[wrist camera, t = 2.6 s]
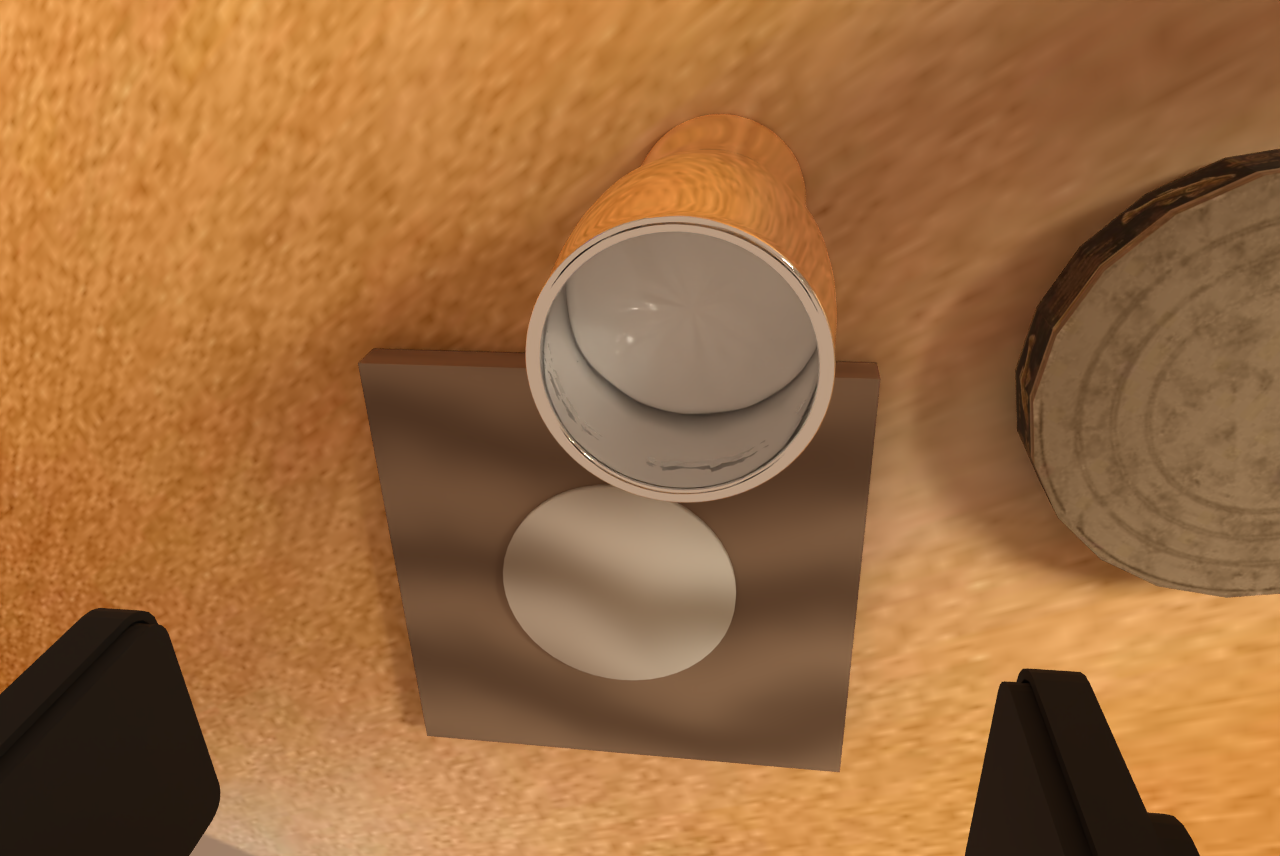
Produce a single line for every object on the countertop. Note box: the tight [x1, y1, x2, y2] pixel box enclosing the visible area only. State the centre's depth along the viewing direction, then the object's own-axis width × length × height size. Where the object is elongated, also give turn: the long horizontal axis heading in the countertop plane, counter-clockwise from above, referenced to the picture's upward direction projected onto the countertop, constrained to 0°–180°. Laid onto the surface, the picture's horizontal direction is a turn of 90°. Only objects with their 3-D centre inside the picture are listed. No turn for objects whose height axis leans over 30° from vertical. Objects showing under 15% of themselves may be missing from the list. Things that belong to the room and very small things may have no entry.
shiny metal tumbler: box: [525, 114, 837, 503], centre depth 25 cm, size 7×7×15 cm
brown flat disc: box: [1015, 149, 1280, 598], centre depth 31 cm, size 16×16×3 cm
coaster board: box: [358, 349, 880, 772], centre depth 39 cm, size 20×20×2 cm
